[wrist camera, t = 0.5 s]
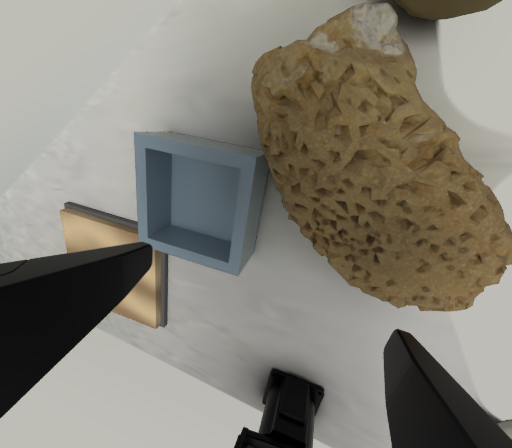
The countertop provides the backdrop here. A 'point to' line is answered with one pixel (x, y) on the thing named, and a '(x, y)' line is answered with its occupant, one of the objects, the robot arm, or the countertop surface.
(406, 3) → the squeeze bottle
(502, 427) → the lidded bowl
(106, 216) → the rubber mat
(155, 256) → the oak lid
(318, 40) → the sponge
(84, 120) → the countertop surface
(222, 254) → the ceramic dish
